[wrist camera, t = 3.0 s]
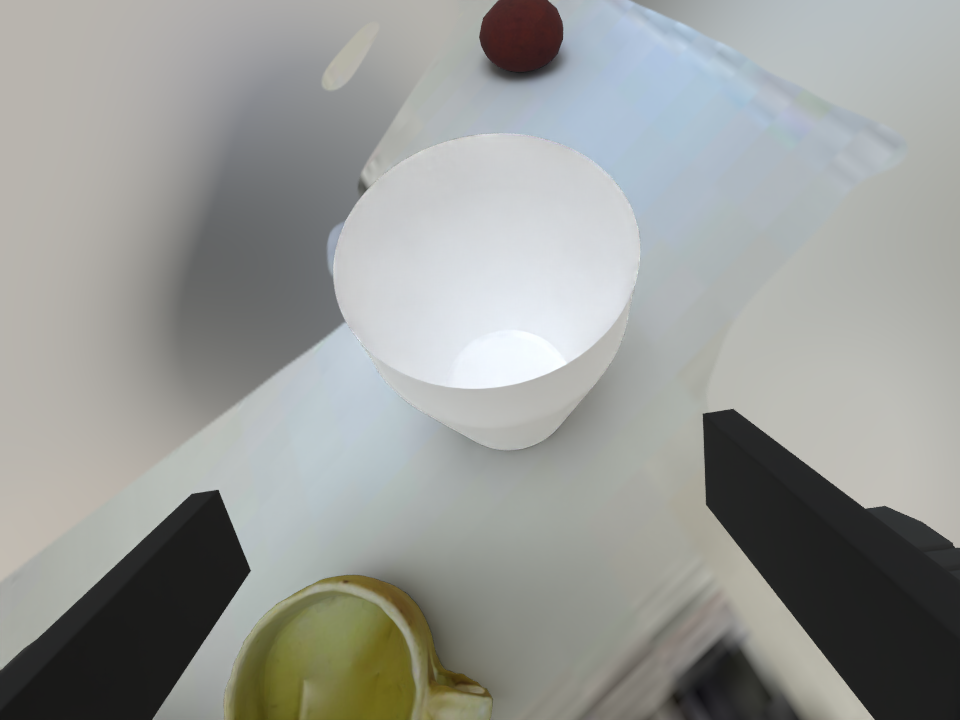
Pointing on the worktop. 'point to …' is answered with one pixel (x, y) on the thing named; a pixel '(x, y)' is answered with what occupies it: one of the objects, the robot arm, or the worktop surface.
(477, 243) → the cup
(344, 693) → the mug
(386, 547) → the worktop surface
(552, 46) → the dark red rounded lump
